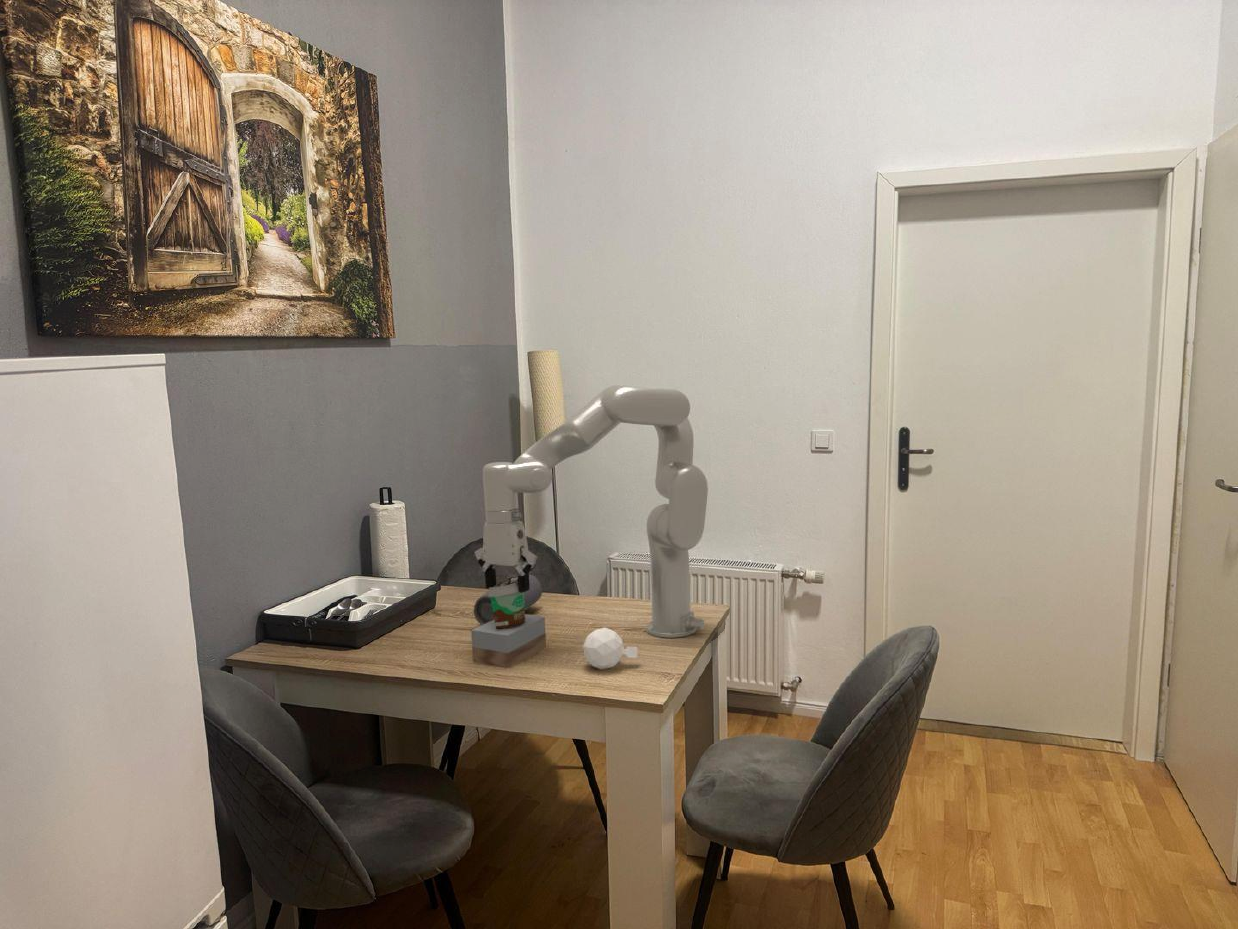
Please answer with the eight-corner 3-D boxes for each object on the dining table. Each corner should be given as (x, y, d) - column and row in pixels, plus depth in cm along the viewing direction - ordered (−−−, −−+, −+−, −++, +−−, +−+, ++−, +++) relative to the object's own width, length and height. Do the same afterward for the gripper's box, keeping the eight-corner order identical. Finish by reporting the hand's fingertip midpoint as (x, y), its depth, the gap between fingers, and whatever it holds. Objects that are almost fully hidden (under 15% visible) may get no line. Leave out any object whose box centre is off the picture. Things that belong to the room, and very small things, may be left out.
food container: (518, 630, 192) (513, 587, 191) (493, 631, 193) (487, 588, 192) (537, 614, 203) (532, 573, 202) (513, 615, 205) (508, 574, 204)
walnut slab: (546, 649, 204) (545, 633, 203) (508, 670, 191) (507, 653, 190) (512, 644, 209) (511, 628, 208) (473, 663, 196) (472, 646, 195)
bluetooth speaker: (514, 606, 239) (513, 571, 238) (544, 608, 236) (543, 573, 235) (472, 630, 218) (470, 592, 217) (504, 634, 215) (502, 595, 214)
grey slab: (545, 633, 203) (544, 616, 203) (508, 653, 190) (507, 635, 190) (510, 628, 208) (510, 612, 208) (472, 647, 195) (471, 630, 195)
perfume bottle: (580, 668, 184) (636, 673, 184) (584, 625, 185) (640, 630, 186) (580, 667, 192) (634, 671, 193) (584, 625, 194) (637, 630, 194)
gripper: (542, 515, 195) (547, 588, 197) (483, 511, 204) (488, 581, 206) (522, 521, 188) (527, 597, 190) (462, 517, 197) (468, 589, 199)
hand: (507, 589), depth 198 cm, fingers open, 9 cm apart
